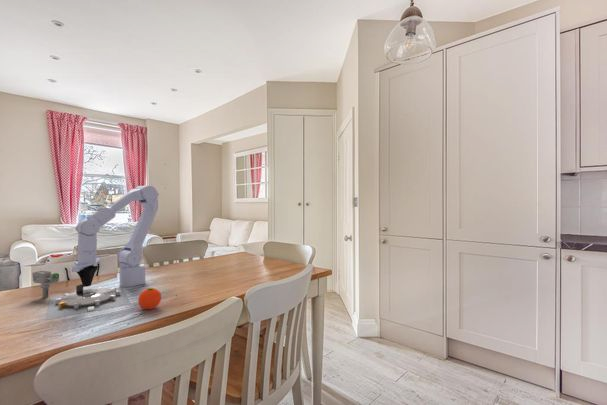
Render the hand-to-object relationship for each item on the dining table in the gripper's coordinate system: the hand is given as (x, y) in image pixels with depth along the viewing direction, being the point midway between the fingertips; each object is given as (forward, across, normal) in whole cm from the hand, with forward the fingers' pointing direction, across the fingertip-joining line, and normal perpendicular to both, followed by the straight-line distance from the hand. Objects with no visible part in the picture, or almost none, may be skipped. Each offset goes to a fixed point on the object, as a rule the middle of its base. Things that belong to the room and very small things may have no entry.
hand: (86, 286), depth 108 cm
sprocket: (+3, +8, +5) cm, 10 cm away
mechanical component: (+4, +3, -12) cm, 13 cm away
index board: (+4, +9, +6) cm, 11 cm away
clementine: (+4, +16, +28) cm, 33 cm away
